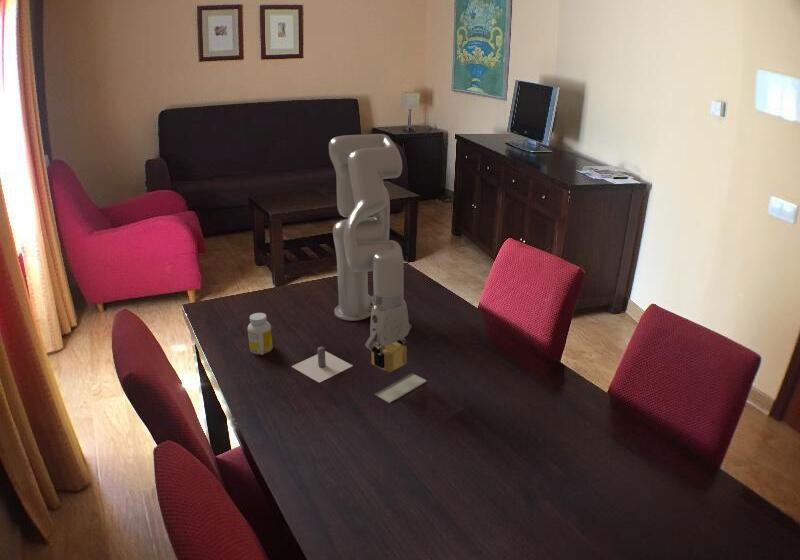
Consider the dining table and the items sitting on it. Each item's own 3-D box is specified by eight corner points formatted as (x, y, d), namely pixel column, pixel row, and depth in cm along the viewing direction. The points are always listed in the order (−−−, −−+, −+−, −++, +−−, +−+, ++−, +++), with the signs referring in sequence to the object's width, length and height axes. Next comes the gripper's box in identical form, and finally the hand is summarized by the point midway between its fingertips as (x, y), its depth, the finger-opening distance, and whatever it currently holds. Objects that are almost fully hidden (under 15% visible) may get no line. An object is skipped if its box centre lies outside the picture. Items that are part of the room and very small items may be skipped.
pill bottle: (275, 347, 188) (272, 311, 184) (269, 358, 182) (266, 321, 178) (254, 346, 189) (250, 310, 184) (247, 357, 183) (243, 320, 178)
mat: (389, 363, 180) (389, 361, 180) (426, 381, 171) (426, 380, 171) (351, 382, 170) (351, 381, 170) (389, 403, 161) (389, 401, 161)
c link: (406, 363, 168) (406, 346, 166) (389, 372, 164) (389, 355, 162) (389, 355, 172) (388, 338, 170) (371, 363, 168) (371, 347, 166)
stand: (325, 353, 185) (323, 333, 182) (353, 368, 177) (352, 348, 174) (291, 369, 177) (289, 348, 174) (319, 385, 169) (318, 364, 166)
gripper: (374, 314, 153) (375, 379, 160) (422, 292, 164) (422, 354, 171) (352, 305, 158) (355, 368, 164) (401, 284, 169) (401, 345, 176)
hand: (389, 360), depth 168 cm, fingers closed on c link, 6 cm apart
